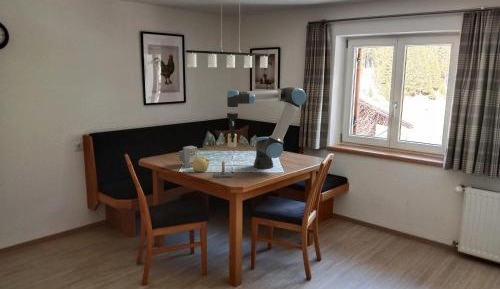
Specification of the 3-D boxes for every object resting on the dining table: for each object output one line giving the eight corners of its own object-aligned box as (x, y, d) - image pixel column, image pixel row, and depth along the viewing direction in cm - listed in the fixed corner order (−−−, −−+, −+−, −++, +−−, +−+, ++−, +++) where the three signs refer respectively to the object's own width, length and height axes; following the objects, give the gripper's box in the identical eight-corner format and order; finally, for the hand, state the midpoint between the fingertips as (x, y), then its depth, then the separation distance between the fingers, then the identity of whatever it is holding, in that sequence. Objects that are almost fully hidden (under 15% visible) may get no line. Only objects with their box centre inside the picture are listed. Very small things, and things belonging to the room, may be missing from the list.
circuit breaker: (185, 163, 305) (184, 144, 302) (197, 166, 296) (197, 147, 293) (178, 164, 299) (177, 146, 296) (190, 168, 290) (189, 148, 287)
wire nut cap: (236, 145, 271) (236, 133, 269) (236, 147, 265) (237, 134, 263) (227, 145, 270) (227, 133, 268) (228, 147, 264) (228, 134, 262)
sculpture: (211, 169, 286) (211, 155, 284) (203, 173, 276) (203, 159, 273) (198, 168, 291) (197, 154, 289) (189, 172, 280) (189, 157, 278)
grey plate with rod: (231, 173, 277) (231, 160, 275) (232, 177, 267) (232, 163, 265) (214, 173, 276) (214, 160, 273) (214, 177, 266) (214, 163, 264)
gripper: (226, 111, 272) (225, 143, 276) (228, 114, 253) (227, 148, 258) (236, 111, 273) (235, 143, 277) (239, 114, 254) (238, 148, 259)
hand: (231, 145), depth 267 cm, fingers closed on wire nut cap, 6 cm apart
